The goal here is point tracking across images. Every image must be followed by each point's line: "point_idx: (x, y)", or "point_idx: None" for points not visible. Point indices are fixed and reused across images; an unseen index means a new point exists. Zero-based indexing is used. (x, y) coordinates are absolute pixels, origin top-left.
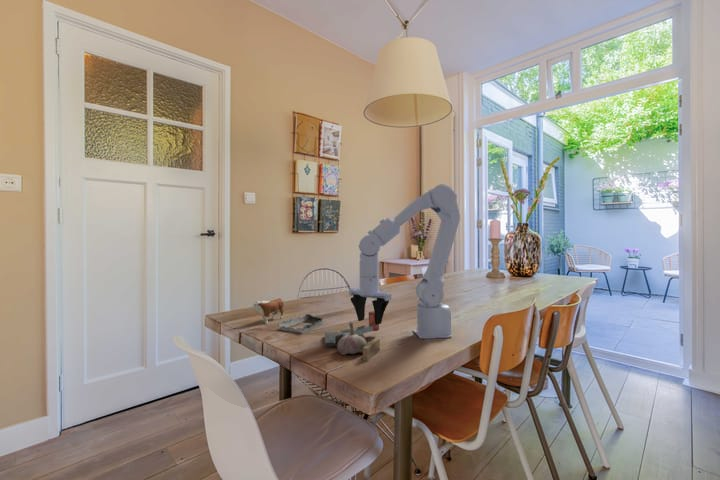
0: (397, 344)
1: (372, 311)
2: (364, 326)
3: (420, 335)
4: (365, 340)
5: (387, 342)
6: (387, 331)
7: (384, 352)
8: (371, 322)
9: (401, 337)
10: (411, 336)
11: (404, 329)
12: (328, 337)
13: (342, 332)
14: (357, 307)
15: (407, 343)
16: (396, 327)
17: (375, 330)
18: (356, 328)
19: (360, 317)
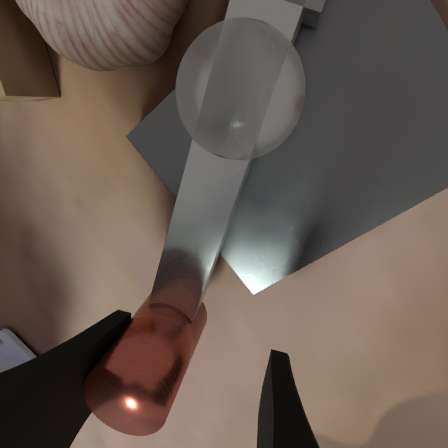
0: (35, 227)
1: (155, 431)
2: (189, 270)
3: (15, 350)
4: (34, 24)
5: (84, 232)
6: None
7: None
8: (150, 317)
9: (79, 321)
10: (56, 346)
11: None
12: (415, 52)
13: (248, 29)
14: (273, 446)
15: (14, 258)
16: (174, 436)
17: (151, 292)
18: (210, 200)
19: (268, 377)
